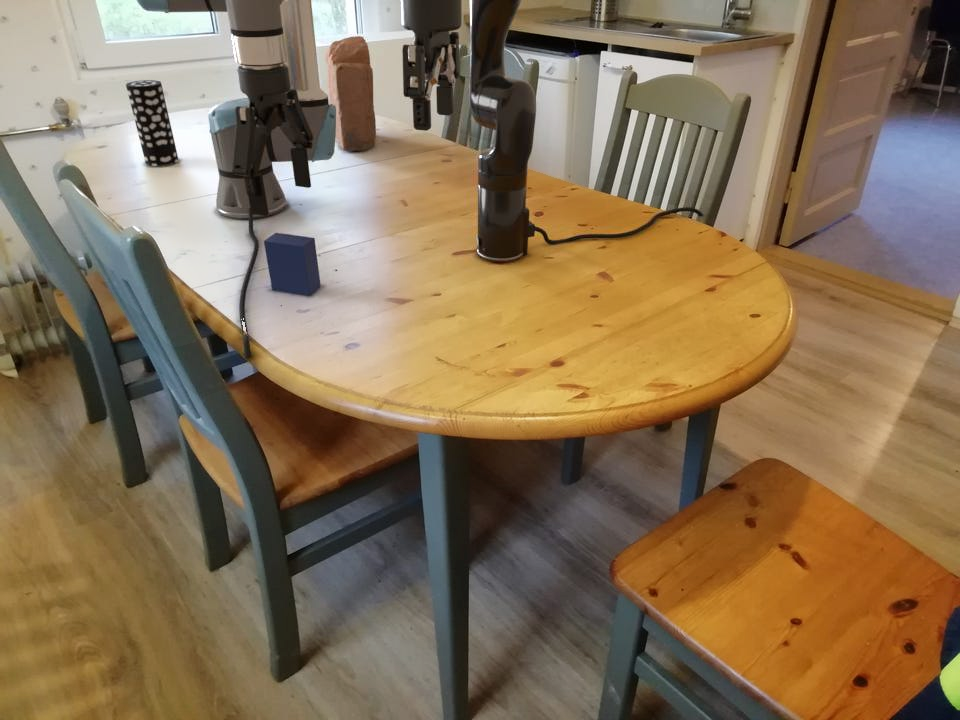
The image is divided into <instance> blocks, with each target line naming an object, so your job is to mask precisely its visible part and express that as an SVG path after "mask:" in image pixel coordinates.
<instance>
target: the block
mask: <svg viewBox="0 0 960 720" xmlns="http://www.w3.org/2000/svg"><path fill="white" fill-rule="evenodd" d="M263 244H264V245H263V246H264V250H265V251H264V252H265V257H266V262H267V268H268V274H269V279H270V286H271V291H276V292H282V293H288V294H295V295H301V296H306V297H307V296H308V297H311V296H312V295H313V294H314V293H315V292H316V291H317V290H318V289H320V288H321V287H322V285H321V278H320V270H319V262H318V261H319V260H318V254H317V246H316V239H315V237H311V236H304V235H298V234H297V235H295V234H289V233H283V232H274V233H273V234H272V235H270V236H269V237H267V238H266V239H265V240H263Z"/></svg>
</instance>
